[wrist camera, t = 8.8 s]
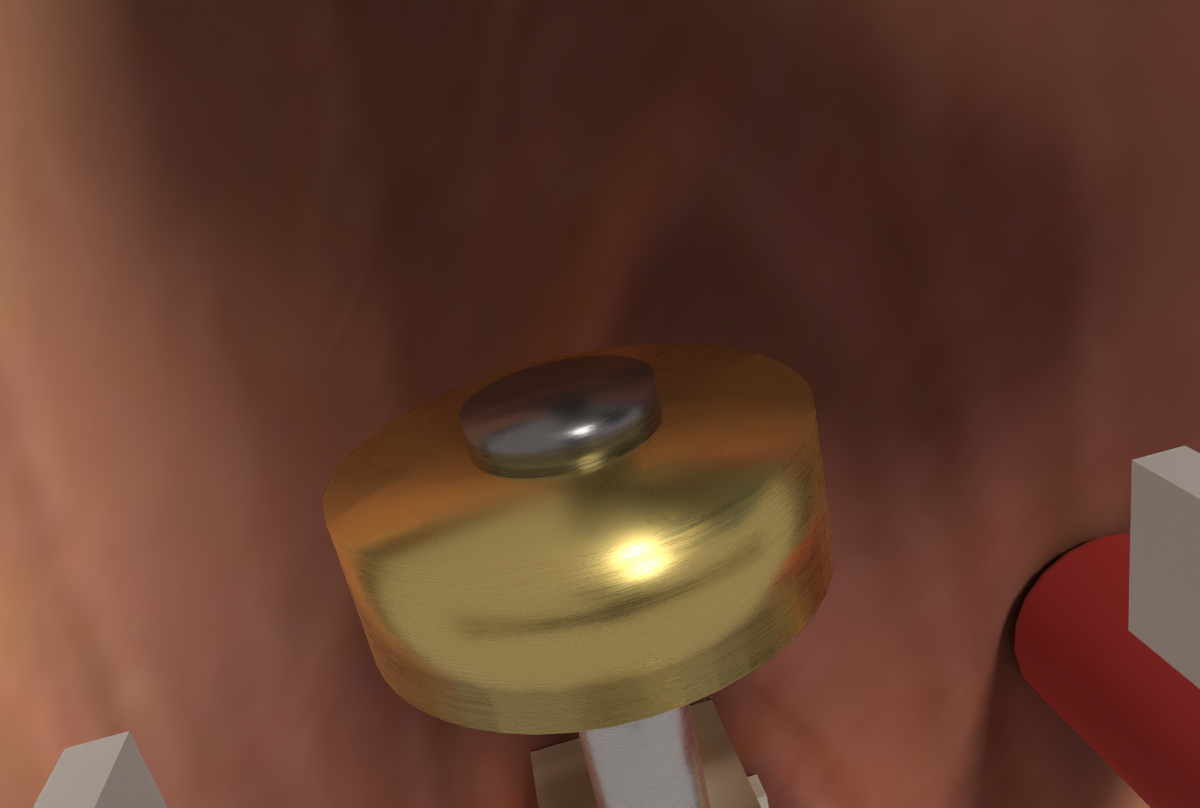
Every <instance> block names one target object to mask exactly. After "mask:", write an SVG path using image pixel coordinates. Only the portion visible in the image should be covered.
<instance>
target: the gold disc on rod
mask: <svg viewBox="0 0 1200 808" xmlns="http://www.w3.org/2000/svg"><path fill="white" fill-rule="evenodd" d="M322 509H323V514H324V518H325V522H326V525H327V527H328V530H329V533H330V536H331V539H332V541H333V544H334V547H335V550H336V553H337V556H338V558H339V561H340V564H341V567H342V570H343V572H344V575H345V578H346V581H347V584H348V586H349V589H350V592H351V595H352V598H353V601H354V603H355V606H356V609H357V612H358V615H359V617H360V620H361V623H362V626H363V629H364V632H365V634H366V637H367V640H368V643H369V646H370V648H371V651H372V654H373V657H374V660H375V663H376V665H377V667H378V669H379V671H380V672H381V674H382V676H383V678H384V680H385V681H386V682H387V684H388V685H389V686H390V687H391V688H392V689H393V690H394V691H395V692H396V693H397V694H398V695H399V696H400V697H401V698H403V699H404V700H406V701H407V702H408V703H410V704H411V705H413V706H414V707H416V708H417V709H419V710H421V711H423V712H425V713H427V714H430V715H432V716H434V717H436V718H438V719H440V720H443V721H447V722H450V723H453V724H457V725H460V726H464V727H467V728H472V729H478V730H484V731H491V732H497V733H509V734H531V735H540V734H558V733H575V732H578V734H579V738H580V741H581V745H582V749H583V753H584V756H585V760H586V764H587V768H588V771H589V775H590V779H591V783H592V787H593V790H594V794H595V798H596V802H597V805H598V808H711V807H710V803H709V798H708V793H707V788H706V783H705V778H704V774H703V769H702V764H701V759H700V754H699V750H698V745H697V740H696V735H695V730H694V726H693V721H692V716H691V711H690V706H689V704H690V703H692V702H695V701H697V700H699V699H701V698H704V697H706V696H708V695H710V694H713V693H715V692H717V691H719V690H721V689H723V688H725V687H727V686H728V685H730V684H732V683H734V682H735V681H737V680H739V679H741V678H742V677H744V676H746V675H748V674H749V673H751V672H752V671H754V670H755V669H757V668H758V667H759V666H761V665H762V664H764V663H765V662H766V661H768V660H769V659H770V658H772V657H773V656H775V655H776V654H777V653H778V652H779V651H781V650H782V649H783V648H784V647H785V646H786V645H787V644H788V643H789V642H790V641H791V640H792V639H793V638H795V637H796V636H797V635H798V634H799V633H800V631H801V630H802V629H803V628H804V626H805V625H806V624H807V623H808V622H809V620H810V619H811V618H812V617H813V615H814V614H815V613H816V611H817V609H818V607H819V605H820V604H821V602H822V600H823V598H824V597H825V595H826V593H827V589H828V586H829V583H830V580H831V577H832V574H833V563H834V551H833V544H832V536H831V528H830V520H829V512H828V504H827V496H826V489H825V481H824V473H823V465H822V457H821V449H820V441H819V434H818V426H817V418H816V410H815V403H814V397H813V393H812V391H811V389H810V387H809V386H808V384H807V382H806V381H805V380H804V379H803V378H802V377H801V376H800V375H799V374H798V373H797V372H796V371H794V370H793V369H791V368H790V367H788V366H787V365H785V364H784V363H781V362H779V361H777V360H775V359H772V358H770V357H768V356H764V355H761V354H758V353H754V352H751V351H746V350H741V349H736V348H731V347H724V346H715V345H704V344H649V345H634V346H624V347H615V348H608V349H601V350H594V351H587V352H582V353H577V354H571V355H566V356H561V357H557V358H553V359H548V360H544V361H540V362H536V363H532V364H528V365H525V366H521V367H517V368H514V369H511V370H507V371H504V372H501V373H498V374H495V375H492V376H489V377H486V378H483V379H480V380H478V381H475V382H472V383H469V384H467V385H464V386H462V387H459V388H457V389H455V390H452V391H450V392H447V393H445V394H443V395H440V396H438V397H436V398H434V399H432V400H430V401H428V402H426V403H424V404H422V405H420V406H418V407H416V408H414V409H412V410H410V411H409V412H407V413H405V414H403V415H401V416H400V417H398V418H396V419H395V420H393V421H392V422H390V423H388V424H387V425H385V426H384V427H382V428H381V429H379V430H378V431H377V432H375V433H374V434H373V435H371V436H370V437H368V438H367V439H366V440H364V441H363V442H362V443H361V444H360V445H359V446H358V447H357V448H355V449H354V450H353V451H352V452H351V453H350V454H349V455H348V456H347V457H346V458H345V459H344V461H343V462H342V463H341V464H340V465H339V466H338V467H337V469H336V471H335V472H334V474H333V475H332V477H331V478H330V480H329V482H328V484H327V487H326V490H325V492H324V495H323V505H322Z"/></svg>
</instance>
